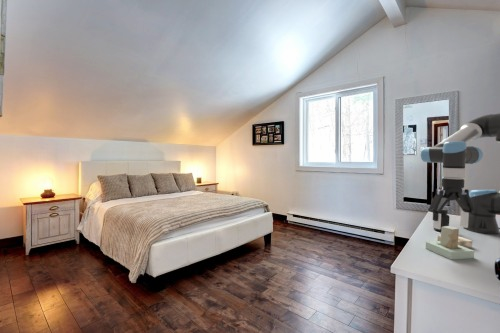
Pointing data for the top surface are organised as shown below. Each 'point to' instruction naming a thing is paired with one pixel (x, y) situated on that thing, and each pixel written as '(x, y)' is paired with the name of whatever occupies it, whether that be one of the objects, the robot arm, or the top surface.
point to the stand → (461, 241)
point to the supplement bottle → (443, 219)
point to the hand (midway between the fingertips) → (450, 227)
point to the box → (449, 237)
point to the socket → (450, 251)
